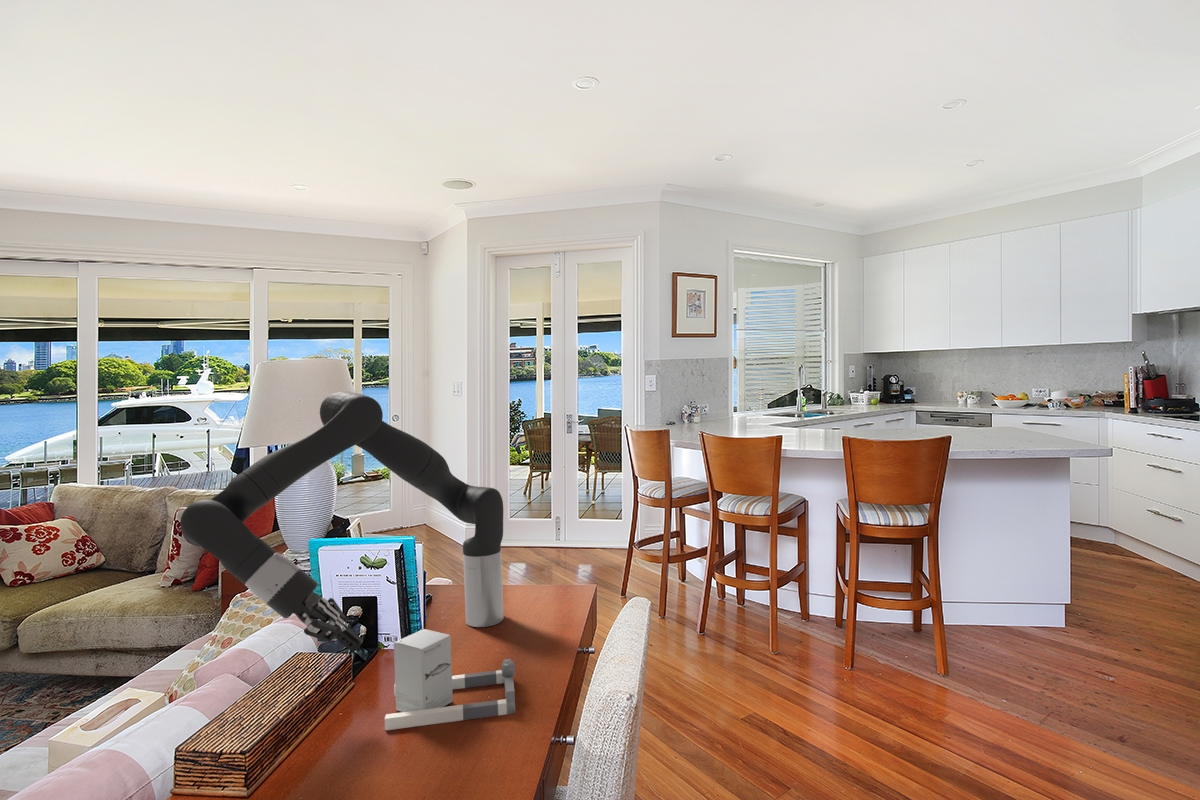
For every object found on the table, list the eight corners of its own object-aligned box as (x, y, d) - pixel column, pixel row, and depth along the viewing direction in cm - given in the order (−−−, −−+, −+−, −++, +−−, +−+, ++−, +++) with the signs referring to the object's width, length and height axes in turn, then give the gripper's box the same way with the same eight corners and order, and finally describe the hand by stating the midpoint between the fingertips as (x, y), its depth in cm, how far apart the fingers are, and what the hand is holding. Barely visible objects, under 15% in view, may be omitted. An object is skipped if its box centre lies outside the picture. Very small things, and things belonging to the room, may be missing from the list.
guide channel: (395, 692, 120) (394, 661, 120) (514, 678, 124) (512, 648, 124) (385, 730, 107) (383, 695, 107) (518, 712, 111) (516, 679, 111)
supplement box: (423, 721, 110) (420, 649, 109) (395, 710, 114) (391, 641, 113) (454, 702, 116) (451, 634, 116) (426, 693, 120) (423, 627, 120)
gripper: (285, 579, 104) (367, 644, 106) (307, 558, 117) (379, 617, 119) (252, 614, 103) (335, 679, 106) (278, 589, 116) (351, 648, 119)
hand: (358, 646), depth 112 cm, fingers closed
